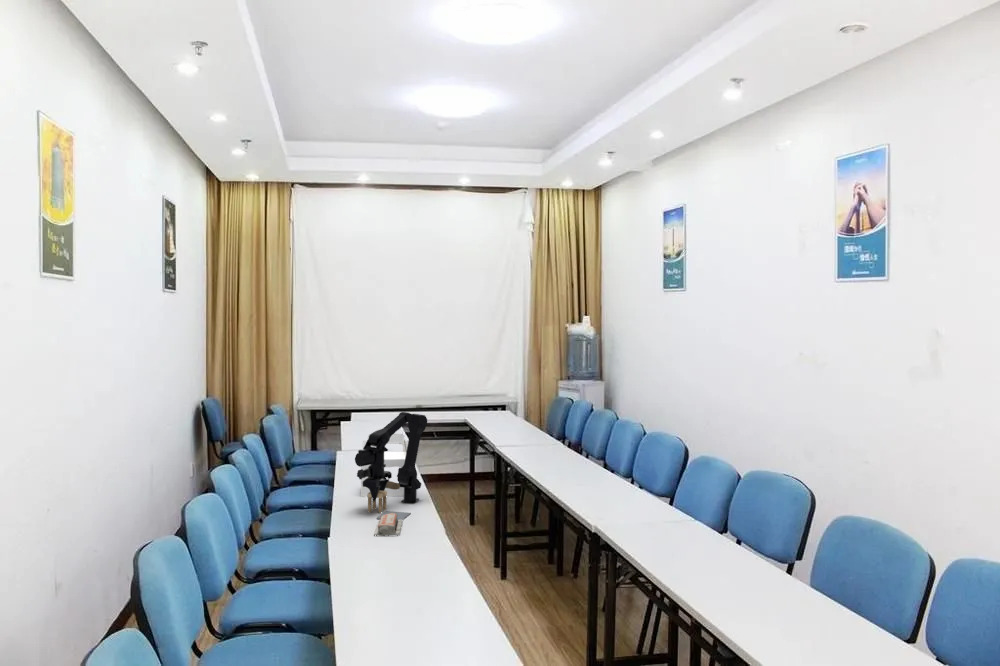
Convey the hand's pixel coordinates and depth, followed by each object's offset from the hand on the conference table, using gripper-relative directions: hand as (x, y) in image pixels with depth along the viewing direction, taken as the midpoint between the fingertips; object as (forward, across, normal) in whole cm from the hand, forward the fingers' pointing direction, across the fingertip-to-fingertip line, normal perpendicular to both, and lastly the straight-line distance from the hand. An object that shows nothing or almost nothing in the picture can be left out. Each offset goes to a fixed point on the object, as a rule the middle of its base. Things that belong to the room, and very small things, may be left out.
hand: (377, 498), depth 315 cm
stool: (+5, 0, 0) cm, 5 cm away
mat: (+5, +6, +10) cm, 13 cm away
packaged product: (+6, +23, +14) cm, 28 cm away
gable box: (+6, -29, -8) cm, 30 cm away
